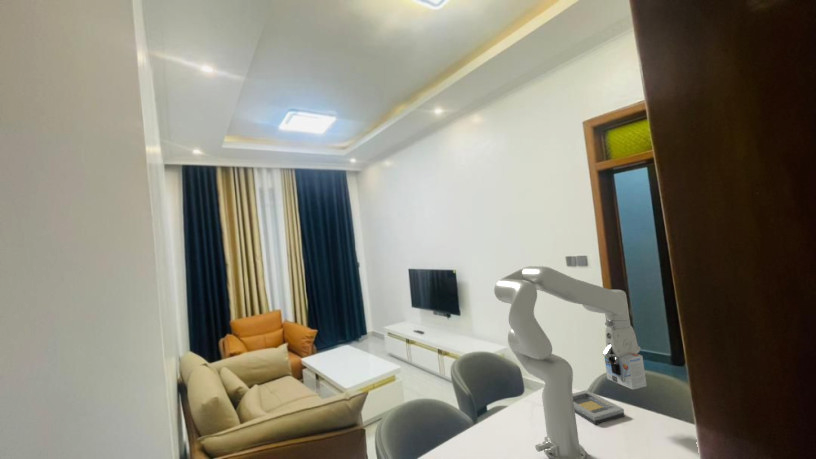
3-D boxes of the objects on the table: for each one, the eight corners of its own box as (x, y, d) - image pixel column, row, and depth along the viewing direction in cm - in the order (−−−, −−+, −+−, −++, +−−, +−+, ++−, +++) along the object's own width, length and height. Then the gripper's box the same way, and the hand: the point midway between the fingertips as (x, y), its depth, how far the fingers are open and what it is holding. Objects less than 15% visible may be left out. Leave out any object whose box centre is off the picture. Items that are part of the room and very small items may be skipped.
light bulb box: (606, 379, 119) (602, 350, 120) (620, 375, 121) (616, 347, 122) (633, 390, 109) (628, 358, 110) (647, 386, 111) (643, 355, 112)
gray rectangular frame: (595, 425, 117) (594, 417, 117) (560, 403, 134) (559, 396, 135) (624, 416, 121) (623, 408, 121) (587, 396, 138) (586, 390, 138)
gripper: (607, 328, 111) (614, 380, 110) (646, 322, 115) (653, 371, 114) (590, 324, 118) (597, 372, 117) (627, 318, 122) (634, 365, 121)
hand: (624, 371), depth 115 cm, fingers closed on light bulb box, 6 cm apart
